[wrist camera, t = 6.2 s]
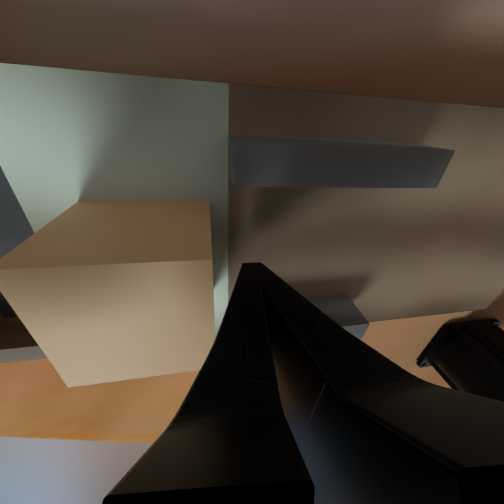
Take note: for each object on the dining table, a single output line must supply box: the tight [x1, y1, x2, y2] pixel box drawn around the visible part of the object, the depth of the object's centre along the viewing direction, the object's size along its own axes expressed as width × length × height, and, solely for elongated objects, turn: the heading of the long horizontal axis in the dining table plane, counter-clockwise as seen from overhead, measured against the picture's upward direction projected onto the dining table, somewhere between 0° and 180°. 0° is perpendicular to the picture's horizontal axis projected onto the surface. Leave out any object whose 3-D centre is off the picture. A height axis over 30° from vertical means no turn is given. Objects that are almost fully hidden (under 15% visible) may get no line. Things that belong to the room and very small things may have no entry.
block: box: [0, 201, 215, 387], centre depth 8 cm, size 4×4×4 cm
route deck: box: [0, 63, 504, 363], centre depth 11 cm, size 12×32×4 cm, turn 86°
